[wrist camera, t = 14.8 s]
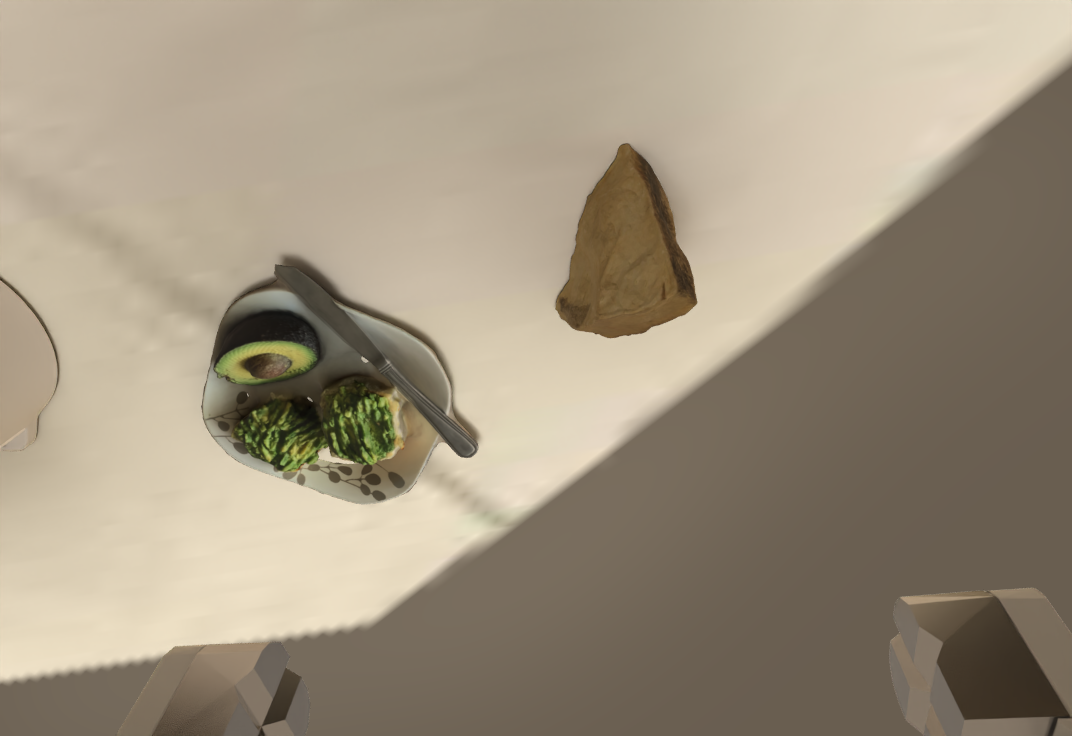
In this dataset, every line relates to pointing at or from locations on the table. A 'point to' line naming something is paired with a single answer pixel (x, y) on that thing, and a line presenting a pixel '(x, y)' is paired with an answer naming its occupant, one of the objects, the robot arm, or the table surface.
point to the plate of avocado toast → (327, 393)
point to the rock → (626, 256)
